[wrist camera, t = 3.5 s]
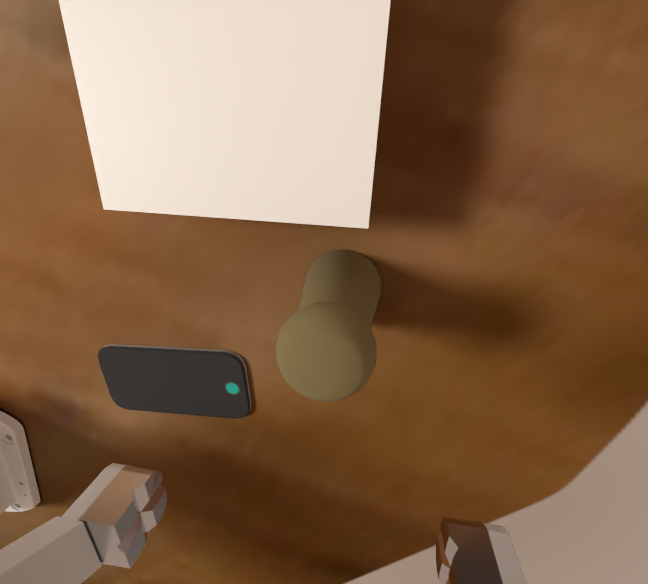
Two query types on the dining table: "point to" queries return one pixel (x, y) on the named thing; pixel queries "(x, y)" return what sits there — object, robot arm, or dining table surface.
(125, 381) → the smartphone
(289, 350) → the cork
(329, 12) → the white block
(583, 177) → the dining table surface
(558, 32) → the dining table surface
